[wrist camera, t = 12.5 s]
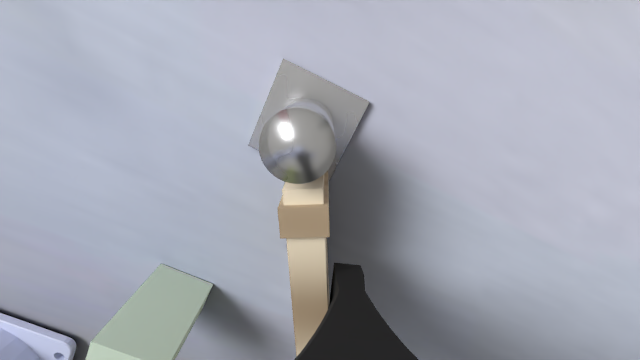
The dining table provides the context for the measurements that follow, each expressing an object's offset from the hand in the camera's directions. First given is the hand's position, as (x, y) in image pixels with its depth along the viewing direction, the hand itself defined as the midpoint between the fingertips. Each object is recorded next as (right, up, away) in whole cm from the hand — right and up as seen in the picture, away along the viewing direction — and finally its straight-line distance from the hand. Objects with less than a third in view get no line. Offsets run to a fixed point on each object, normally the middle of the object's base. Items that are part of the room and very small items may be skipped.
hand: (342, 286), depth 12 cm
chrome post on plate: (-1, +6, +1) cm, 6 cm away
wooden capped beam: (-1, +1, +2) cm, 3 cm away
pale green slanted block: (-7, -1, +3) cm, 8 cm away
